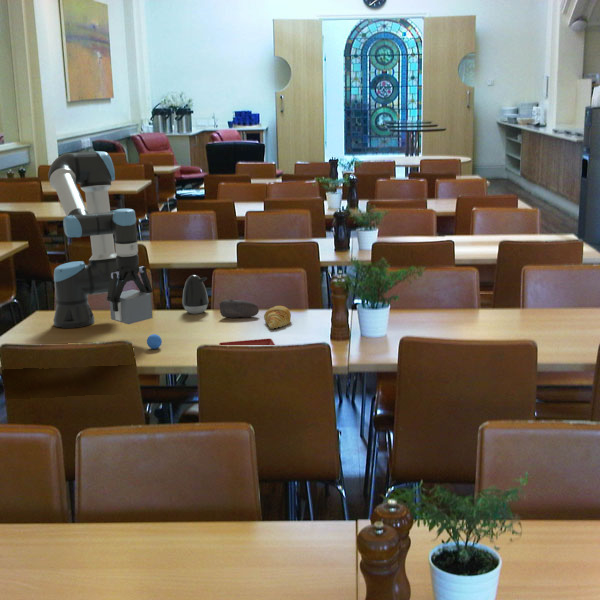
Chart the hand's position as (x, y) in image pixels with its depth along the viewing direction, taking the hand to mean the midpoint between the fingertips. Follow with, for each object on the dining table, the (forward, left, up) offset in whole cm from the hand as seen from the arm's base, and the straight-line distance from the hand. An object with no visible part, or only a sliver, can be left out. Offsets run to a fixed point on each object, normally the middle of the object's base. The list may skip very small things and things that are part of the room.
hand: (131, 316), depth 304 cm
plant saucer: (+45, +14, -10) cm, 48 cm away
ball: (+12, 0, -7) cm, 14 cm away
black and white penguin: (-15, +42, -10) cm, 46 cm away
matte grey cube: (0, 0, -1) cm, 1 cm away
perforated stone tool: (+5, +47, -10) cm, 48 cm away
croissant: (+22, +49, -10) cm, 55 cm away
